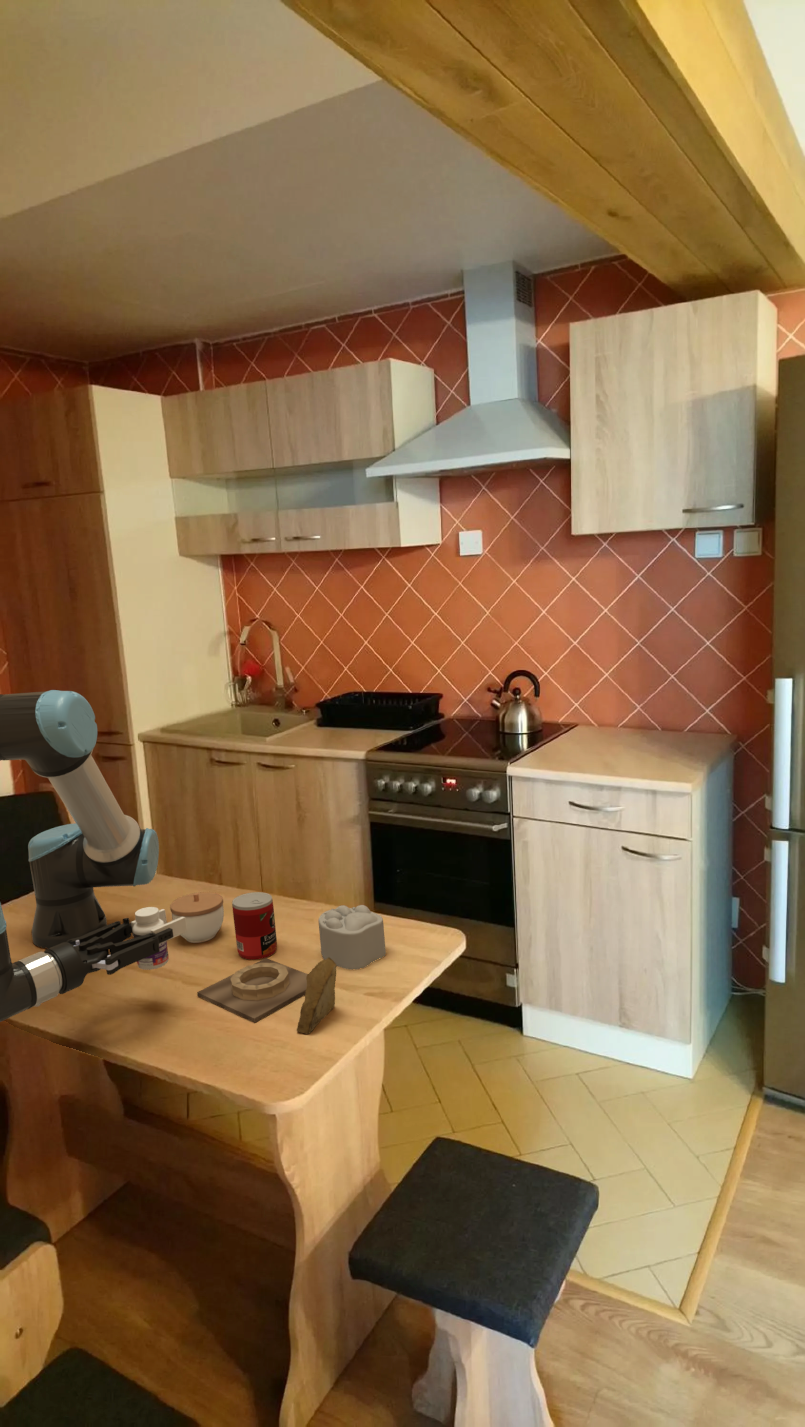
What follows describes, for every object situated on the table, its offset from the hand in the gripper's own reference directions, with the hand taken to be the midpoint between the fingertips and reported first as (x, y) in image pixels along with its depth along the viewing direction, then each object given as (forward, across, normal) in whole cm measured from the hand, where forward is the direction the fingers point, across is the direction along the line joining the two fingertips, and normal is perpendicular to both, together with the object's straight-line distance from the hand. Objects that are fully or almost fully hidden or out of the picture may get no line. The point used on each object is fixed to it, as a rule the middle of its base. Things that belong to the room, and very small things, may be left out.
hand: (174, 920), depth 158 cm
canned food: (+19, -2, -15) cm, 24 cm away
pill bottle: (-5, 0, -6) cm, 8 cm away
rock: (+8, +26, -14) cm, 31 cm away
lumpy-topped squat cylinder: (+29, +14, -15) cm, 35 cm away
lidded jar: (+17, -18, -15) cm, 29 cm away
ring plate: (+9, +11, -14) cm, 20 cm away
